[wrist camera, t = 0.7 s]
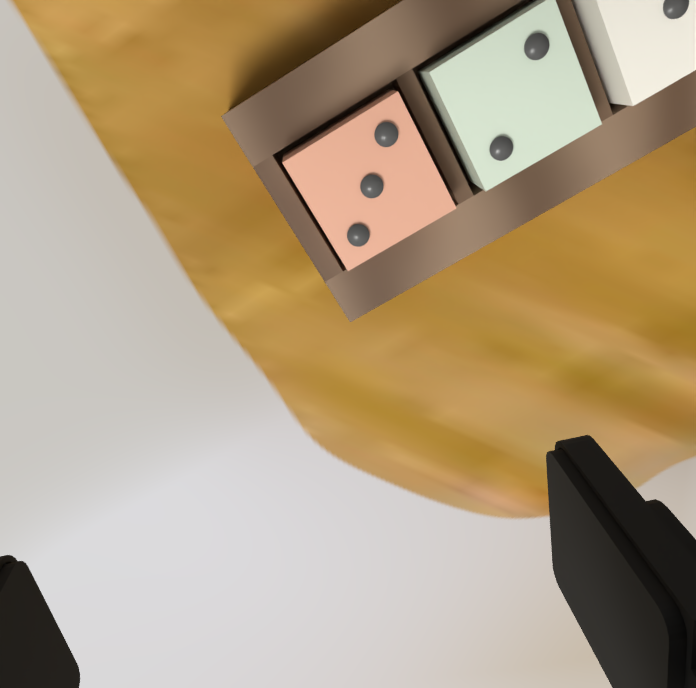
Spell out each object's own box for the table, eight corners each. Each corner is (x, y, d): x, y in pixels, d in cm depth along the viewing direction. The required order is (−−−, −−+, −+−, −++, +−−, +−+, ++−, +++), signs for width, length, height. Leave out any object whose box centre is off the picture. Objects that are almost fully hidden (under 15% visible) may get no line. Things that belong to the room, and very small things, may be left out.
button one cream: (682, -93, 24) (724, -109, 22) (718, 36, 26) (760, 33, 24) (560, -18, 25) (588, -26, 22) (604, 102, 27) (634, 106, 24)
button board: (664, -167, 24) (711, -197, 22) (732, 77, 28) (780, 78, 26) (228, 111, 27) (221, 116, 24) (344, 299, 31) (350, 322, 28)
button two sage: (530, 1, 25) (555, -5, 22) (576, 118, 27) (603, 124, 24) (417, 71, 25) (429, 72, 23) (470, 181, 27) (486, 192, 25)
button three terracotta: (388, 89, 26) (398, 91, 23) (443, 196, 28) (457, 208, 25) (282, 154, 26) (282, 163, 24) (343, 255, 28) (348, 272, 26)
